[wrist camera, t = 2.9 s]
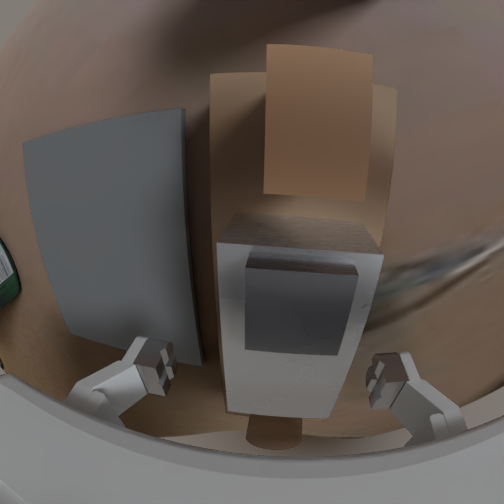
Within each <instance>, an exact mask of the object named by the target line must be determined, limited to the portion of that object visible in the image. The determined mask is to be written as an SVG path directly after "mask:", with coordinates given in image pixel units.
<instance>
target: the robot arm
mask: <svg viewBox="0 0 504 504" xmlns="http://www.w3.org/2000/svg"><path fill="white" fill-rule="evenodd" d="M173 350H174V347H173V343H172V342H169V341H164V340H159V339H154V338H148V337H143V336H138V337H136V338H135V340H134V342H133V343H132V345H131V346H130V348H129V349H128V351H127V353H126V354H125V356H124V357H123V359H122V361H119V360H118V361H116V362H114V363H113V364H111V365H109V366H107V367H105V368H103V369H101V370H99V371H97V372H96V373H94V374H92V375H90V376H88V377H86V378H84V379H82V380H80V381H78V382H77V383H76V384H75V386H74V387H73V389H72V390H71V392H70V393H69V395H68V396H67V398H66V399H65V401H64V402H62V401H60V400H58V399H56V398H54V397H52V396H50V395H48V394H46V393H44V392H43V391H41V390H39V389H37V388H35V387H34V386H32V385H30V384H29V383H27V382H25V381H24V380H22V379H20V378H19V377H17V376H16V375H14V374H12V373H7V374H3V375H0V504H504V415H503V416H501V417H499V418H497V419H494V420H492V421H489V422H487V423H484V424H482V425H479V426H477V427H474V428H472V429H469V430H467V427H466V424H465V421H464V418H463V416H462V414H461V411H460V408H459V407H458V406H457V405H456V404H454V403H453V402H452V401H450V400H449V399H448V398H447V397H445V396H444V395H443V394H442V393H440V392H439V391H438V390H436V389H435V388H434V387H433V386H431V385H430V384H429V383H427V382H426V381H425V380H424V379H422V380H420V377H419V375H418V372H417V370H416V367H415V365H414V362H413V360H412V358H411V355H410V353H409V352H397V353H381V354H375V355H374V356H373V358H372V364H373V365H371V366H370V367H369V368H368V371H367V373H366V387H367V389H368V390H369V391H370V392H371V394H370V396H369V401H370V406H371V410H376V409H388V408H390V410H391V412H392V413H393V414H394V415H395V416H396V417H397V418H398V420H399V421H400V422H401V423H402V424H403V425H404V426H405V428H406V429H407V430H408V431H409V432H410V433H411V434H412V435H413V437H412V438H411V439H410V440H409V441H408V442H407V443H406V445H405V446H404V447H402V448H397V449H391V450H385V451H379V452H372V453H363V454H355V455H343V456H324V457H282V456H264V455H263V456H262V455H251V454H242V453H232V452H225V451H218V450H213V449H207V448H201V447H196V446H191V445H186V444H181V443H177V442H173V441H169V440H165V439H161V438H157V437H154V436H150V435H147V434H143V433H140V432H137V431H134V430H130V429H127V428H125V426H124V424H123V422H122V421H121V419H120V418H119V417H118V416H119V415H120V414H122V413H123V412H124V411H126V410H127V409H128V408H130V407H131V406H132V405H133V404H135V403H136V402H137V401H139V400H140V399H141V398H143V397H144V396H145V395H146V394H147V393H152V394H157V395H161V396H166V395H167V392H168V390H169V388H170V385H171V384H170V381H169V380H170V379H171V378H173V377H174V375H175V373H176V369H177V358H176V356H175V355H174V354H173V353H172V352H173Z"/></svg>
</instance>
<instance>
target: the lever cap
mask: <svg viewBox="0 0 504 504" xmlns="http://www.w3.org/2000/svg"><path fill="white" fill-rule="evenodd" d="M383 258H384V254H383V252H382V251H381V249H380V248H379V246H378V245H377V243H376V242H375V240H374V239H373V237H372V236H371V234H370V233H369V232H368V230H367V229H366V227H365V226H364V224H363V223H362V222H358V221H348V220H337V219H325V218H313V217H299V216H285V215H270V214H253V213H235V214H234V216H233V217H232V219H231V220H230V222H229V224H228V225H227V227H226V228H225V230H224V232H223V233H222V235H221V236H220V238H219V240H218V241H217V266H218V286H219V304H220V320H221V335H222V349H223V362H224V374H225V385H226V396H227V407H228V411H232V412H239V413H247V414H256V415H267V416H279V417H296V418H328V417H329V415H330V413H331V411H332V409H333V407H334V404H335V402H336V400H337V398H338V395H339V393H340V391H341V388H342V386H343V383H344V381H345V378H346V376H347V373H348V371H349V368H350V366H351V363H352V360H353V358H354V355H355V352H356V350H357V347H358V344H359V341H360V338H361V335H362V332H363V329H364V326H365V323H366V320H367V317H368V313H369V310H370V307H371V303H372V300H373V296H374V293H375V289H376V286H377V282H378V278H379V274H380V270H381V266H382V262H383Z"/></svg>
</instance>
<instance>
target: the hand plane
mask: <svg viewBox="0 0 504 504" xmlns="http://www.w3.org/2000/svg"><path fill="white" fill-rule="evenodd" d="M396 119H397V88H394V87H389V86H385V85H380V84H375V83H373V61H372V55H370V54H365V53H359V52H354V51H347V50H341V49H333V48H325V47H316V46H304V45H286V44H267V61H266V72H237V73H217V74H210V123H209V138H210V200H211V229H212V252H213V271H214V288H215V303H216V317H217V330H218V342H219V354H220V365H221V375H222V385H223V395H224V404H225V413H227V414H234V415H242V416H250V417H249V423H248V428H247V434H246V439H247V441H248V442H249V443H251V444H252V445H254V446H256V447H259V448H263V449H270V450H283V449H289V448H293V447H295V446H297V445H299V444H300V443H301V440H302V420H304V421H323V420H324V418H296V417H279V416H267V415H256V414H247V413H239V412H232V411H228V407H227V396H226V385H225V374H224V362H223V349H222V335H221V320H220V304H219V286H218V266H217V241H218V240H219V238H220V236H221V235H222V233H223V232H224V230H225V228H226V227H227V225H228V224H229V222H230V220H231V219H232V217H233V216H234V214H235V213H253V214H270V215H285V216H299V217H313V218H325V219H337V220H348V221H358V222H362V223H363V224H364V226H365V227H366V229H367V230H368V232H369V233H370V234H371V236H372V237H373V239H374V240H375V242H376V243H377V245H378V246H379V248H380V244H381V240H382V234H383V229H384V224H385V218H386V212H387V206H388V200H389V193H390V186H391V178H392V169H393V160H394V149H395V136H396Z"/></svg>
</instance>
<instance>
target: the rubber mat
mask: <svg viewBox="0 0 504 504" xmlns="http://www.w3.org/2000/svg"><path fill="white" fill-rule="evenodd" d="M23 157H24V167H25V176H26V184H27V191H28V197H29V203H30V209H31V214H32V219H33V223H34V228H35V232H36V236H37V240H38V244H39V248H40V252H41V255H42V259H43V262H44V266H45V269H46V272H47V275H48V278H49V281H50V284H51V287H52V290H53V293H54V296H55V298H56V301H57V304H58V306H59V309H60V311H61V314H62V316H63V319H64V321H65V323H66V326H67V328H68V330H69V332H70V334H73V335H76V336H79V337H82V338H85V339H88V340H91V341H94V342H98V343H101V344H104V345H108V346H111V347H115V348H118V349H122V350H126V351H128V349H129V348H130V346H131V345H132V343H133V342H134V340H135V338H136V337H138V336H143V337H148V338H154V339H159V340H164V341H169V342H172V343H173V347H174V350H173V352H172V353H173V354H174V355H175V356H176V358H177V362H179V363H184V364H189V365H195V366H201V367H202V366H203V363H204V358H203V351H202V344H201V337H200V330H199V322H198V314H197V305H196V296H195V287H194V277H193V267H192V256H191V244H190V231H189V216H188V198H187V177H186V140H185V109H182V108H179V109H169V110H161V111H153V112H146V113H139V114H133V115H127V116H122V117H116V118H111V119H106V120H101V121H97V122H92V123H88V124H84V125H80V126H76V127H72V128H69V129H65V130H61V131H58V132H55V133H51V134H48V135H45V136H42V137H39V138H36V139H33V140H30V141H27V142H24V143H23Z"/></svg>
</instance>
